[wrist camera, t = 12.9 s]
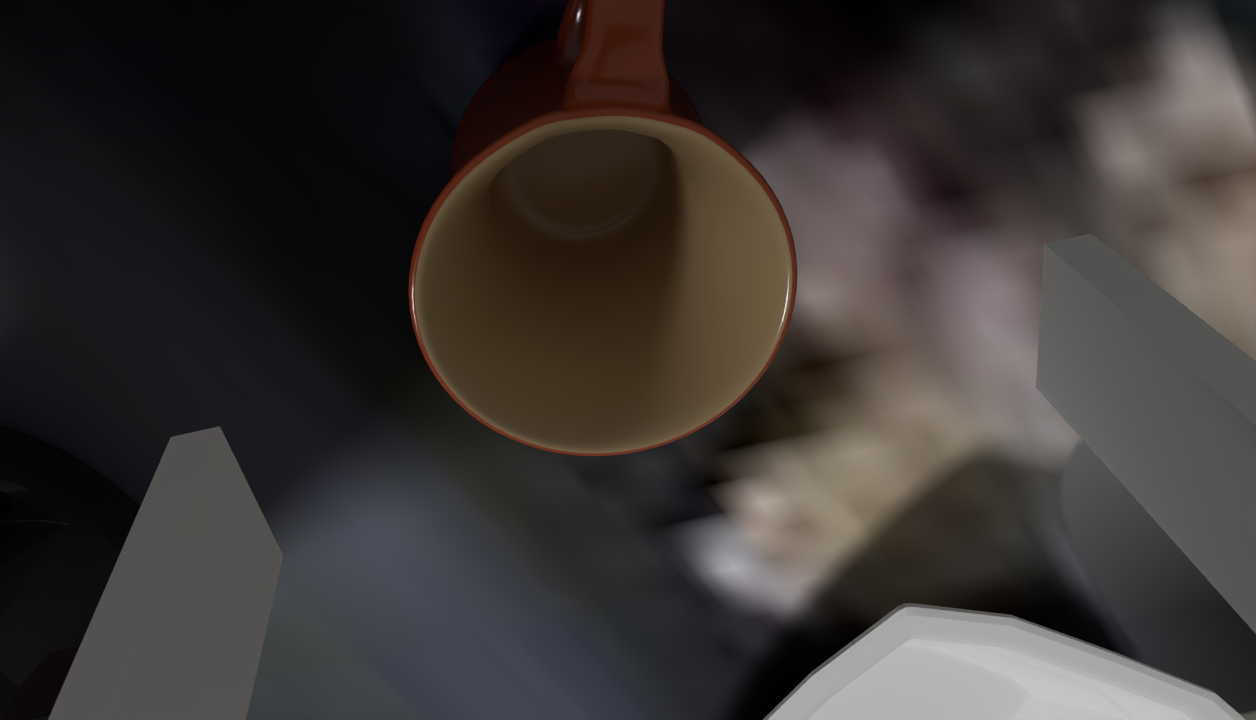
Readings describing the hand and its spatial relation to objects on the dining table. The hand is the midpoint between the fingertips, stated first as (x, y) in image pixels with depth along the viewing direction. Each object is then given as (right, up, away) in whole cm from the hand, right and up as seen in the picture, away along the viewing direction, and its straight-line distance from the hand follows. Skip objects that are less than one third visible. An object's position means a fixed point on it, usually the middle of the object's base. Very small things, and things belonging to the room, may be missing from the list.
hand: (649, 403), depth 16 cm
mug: (-2, +9, +14) cm, 17 cm away
